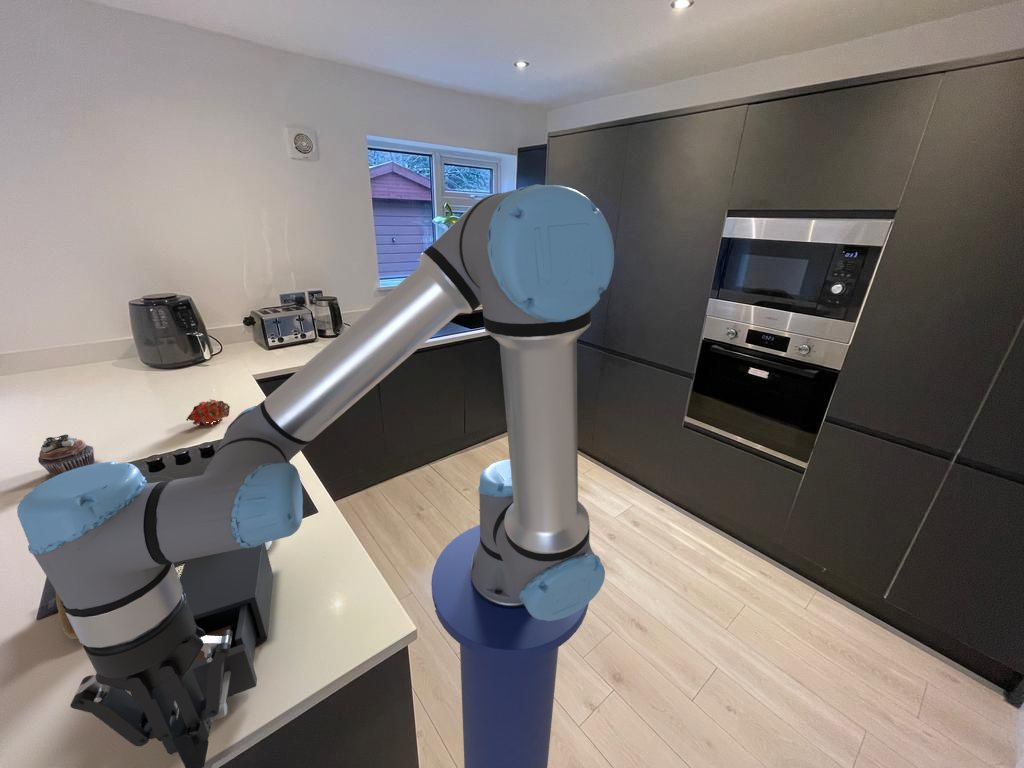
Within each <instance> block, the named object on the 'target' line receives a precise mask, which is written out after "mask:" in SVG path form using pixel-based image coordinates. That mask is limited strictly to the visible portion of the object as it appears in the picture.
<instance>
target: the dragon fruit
mask: <svg viewBox="0 0 1024 768" xmlns="http://www.w3.org/2000/svg"><path fill="white" fill-rule="evenodd" d="M230 408H231V406H230V405H229V404H228V403H227V402H224V401H223V400H215V399H212V398H211V399H210V398H209V401H208V400H207V401H201V402H199V403H198V404H197V405H194V406H193V409H192V410H191V412H190V414H189V415H187V418H186V419H185V421H186V422H188V421H191V422H192V425H194V426H198V425H197V424H202V425H204V426H207V425H208V424H210V423H212V422H213V421H217V422H213V423H214V424H210V425H211V426H214V425H215V424H217V423H220V422H222V421H223V418H227V417H229V415H230ZM218 420H219V421H218ZM206 422H210V423H206Z"/></svg>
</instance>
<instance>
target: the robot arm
mask: <svg viewBox="0 0 1024 768" xmlns="http://www.w3.org/2000/svg"><path fill="white" fill-rule="evenodd" d="M614 266H615V245H614V239H613V235H612V231H611V228H610V226H609V223H608V222H607V220H606V217H605V216H604V214H603V213H602V211H601V210H600V209H599V208H598V207H597V206H596V205H595V203H594V202H593V201H592V200H591V199H590V198H589V197H587V196H586V194H583V193H582V192H580V191H579V190H576V189H574V188H572V187H568V186H564V185H557V184H546V185H545V184H538V183H535V184H533V185H528V186H527V185H526V186H521V187H518V188H517V189H513V190H508V191H505V192H499V193H494V194H491V195H488V196H485V197H482V198H481V199H480V200H478V201H477V202H475V203H474V204H472V205H471V206H470V207H468V208H467V210H465V211H464V212H463V214H461V215H460V216H459V217H458V218H457V219H456V220H455V222H453V223H452V225H450V226H449V227H448V228H447V229H446V230H445V231H444V232H443V233H442V234H441V235H440V236H439V237H438V238H437V239H436V240H435V241H434V242H433V243H431V244H430V246H428V247H427V248H426V249H425V250H424V251H422V253H420V255H419V266H418V267H417V268H416V269H414V271H412V272H411V273H410V274H409V275H408V276H407V277H405V279H403V280H402V281H401V282H400V283H398V284H397V285H396V286H395V287H393V289H392V290H390V291H389V292H388V293H387V294H386V295H384V296H383V297H382V298H381V299H380V300H379V301H377V302H376V303H375V304H374V305H373V306H372V307H370V308H369V309H368V310H367V311H366V312H365V313H363V314H362V315H361V316H360V317H359V318H358V319H356V320H355V321H354V322H352V324H351V325H349V326H348V327H347V328H346V329H345V330H344V331H342V332H341V333H340V334H339V335H338V336H337V337H335V338H334V339H333V340H332V341H331V342H330V343H329V344H327V345H326V346H324V348H323V349H321V350H320V351H318V353H317V354H315V355H314V356H313V357H312V358H311V359H310V360H308V362H306V363H305V364H304V365H303V366H302V367H300V368H299V369H298V370H297V371H296V372H295V373H294V374H292V375H291V376H290V377H289V378H287V379H286V380H285V381H283V383H282V384H280V385H279V386H278V387H277V388H276V389H275V390H273V391H272V392H271V393H270V394H269V395H268V396H267V397H265V398H264V400H263V401H261V402H260V403H258V404H257V405H254V406H252V407H248V408H246V409H244V410H243V411H241V412H240V413H239V414H238V415H237V416H236V417H235V418H234V419H233V420H232V421H231V423H229V425H228V426H227V428H226V430H225V432H224V434H223V437H222V439H221V441H220V443H219V445H218V447H217V448H216V450H215V452H214V454H213V456H212V458H211V459H210V461H209V464H208V465H207V467H206V468H205V470H204V472H203V473H202V475H196V476H189V477H184V478H178V479H177V478H176V479H172V480H167V481H165V480H163V481H156V482H148V480H146V477H145V476H143V474H142V472H141V470H140V469H139V468H138V467H137V466H136V465H134V464H133V463H130V462H117V461H105V462H98V463H95V464H92V465H87V466H83V467H79V468H76V469H73V470H70V471H67V472H64V473H62V474H59V475H57V476H55V477H52V476H51V478H49V479H46V480H45V481H42V482H41V483H40V484H37V485H36V486H35V487H34V488H33V489H32V490H31V491H29V492H28V493H26V494H25V495H24V496H23V498H22V499H21V500H20V502H19V503H18V505H17V508H16V509H17V511H16V512H17V518H18V521H19V522H20V525H21V527H22V530H23V532H24V535H25V538H26V541H27V543H28V545H27V549H28V552H29V553H30V554H31V555H33V557H34V558H35V560H36V562H37V563H38V565H39V566H40V568H41V569H42V571H43V573H44V574H45V576H46V578H47V579H48V581H49V582H50V584H51V586H52V587H53V589H54V591H55V593H56V592H57V594H58V596H59V598H60V599H61V600H60V603H61V604H62V605H63V608H64V610H65V613H66V615H67V617H68V619H69V621H70V623H71V625H72V627H73V629H74V631H75V633H76V635H77V637H78V639H77V640H78V641H79V643H80V644H82V645H83V646H82V647H83V650H84V651H85V653H86V655H87V657H88V659H89V661H90V663H91V665H92V668H93V669H94V670H95V672H96V674H92V675H91V674H90V675H87V676H85V677H84V678H82V679H81V683H80V684H79V685H78V688H77V690H76V693H75V694H74V696H73V698H72V700H71V702H70V708H71V709H74V710H78V711H82V712H84V713H85V712H86V713H89V714H92V715H93V716H95V718H97V719H99V720H100V721H101V722H102V723H104V724H105V725H107V727H109V728H111V730H113V731H114V732H116V734H118V735H119V736H121V737H122V738H124V739H125V740H126V741H128V742H129V743H130V744H131V745H133V746H134V747H143V746H145V745H147V744H148V743H149V741H150V740H155V739H156V740H157V741H158V742H161V743H162V745H163V747H164V749H165V751H166V753H167V754H168V755H170V756H172V755H174V754H177V753H178V755H179V757H180V759H181V762H182V764H183V766H184V768H204V767H205V763H206V759H207V753H208V749H209V737H210V732H211V728H212V727H211V726H212V722H211V721H210V719H209V718H210V717H214V716H216V715H217V714H218V712H219V707H220V701H221V695H222V687H223V672H224V661H225V659H226V657H227V656H228V654H229V650H230V645H231V639H232V633H233V632H232V631H231V630H225V631H223V632H221V633H220V635H219V636H205V632H204V630H203V629H201V628H199V627H198V626H196V624H195V621H194V617H193V614H192V611H191V609H190V606H189V603H188V600H187V598H186V595H185V593H184V592H183V590H182V585H181V582H180V579H179V578H180V576H179V573H178V571H177V569H176V566H175V564H176V563H178V562H183V561H186V560H188V559H193V558H198V557H203V556H208V555H213V554H218V553H223V552H227V551H232V550H237V549H242V548H253V547H257V546H258V545H261V544H262V543H266V542H269V541H272V542H273V541H276V540H280V539H285V538H288V537H290V536H292V535H294V534H295V533H297V531H298V530H299V529H300V527H301V525H302V523H303V517H304V516H303V515H304V510H303V509H304V507H303V506H304V498H303V497H304V496H303V488H302V482H301V476H300V473H299V471H298V469H297V467H296V466H295V465H294V464H293V463H290V461H291V460H292V459H293V458H294V457H295V456H296V455H298V453H300V452H301V451H302V450H303V449H304V448H305V447H306V446H308V445H309V444H310V443H311V442H313V441H314V439H316V438H317V436H319V434H320V435H321V433H322V432H323V431H324V430H326V429H327V428H328V427H329V426H330V425H332V424H333V423H334V422H335V421H336V420H338V418H340V417H341V416H342V415H343V414H345V412H346V411H347V410H348V409H350V408H352V406H353V405H355V404H356V403H357V402H358V401H359V400H360V399H362V397H364V396H365V395H366V394H367V393H369V392H370V391H371V390H372V389H374V387H375V386H376V385H378V384H379V383H380V382H381V381H382V380H383V379H385V378H386V377H387V376H388V375H389V374H391V373H392V372H393V371H394V370H395V369H397V367H399V366H400V365H401V364H402V363H404V361H406V360H407V359H408V358H409V357H410V356H411V355H412V354H413V353H415V352H417V350H419V348H421V347H422V346H423V345H424V344H425V343H426V342H427V341H429V340H430V339H431V338H432V337H433V336H434V335H435V334H437V333H438V332H439V331H440V330H441V329H443V328H444V327H445V326H446V325H447V324H448V323H450V322H451V321H452V320H453V319H454V318H455V317H456V316H458V315H459V314H472V313H473V312H474V311H476V309H478V308H479V307H480V306H481V308H482V318H483V319H482V320H483V327H484V331H485V333H487V334H488V335H489V336H490V337H492V338H493V339H494V340H495V341H497V342H498V344H499V352H500V362H501V363H500V364H501V375H502V385H503V387H502V388H503V397H504V408H505V420H506V430H507V443H508V455H509V459H504V460H503V459H502V460H500V461H495V462H494V463H492V464H490V465H488V466H487V467H486V468H485V469H483V471H482V472H481V474H480V477H479V486H478V494H479V497H478V499H479V525H480V541H479V543H478V546H477V549H476V551H475V554H474V553H473V555H474V556H472V562H471V582H472V585H473V588H474V589H475V591H476V593H477V594H478V595H479V596H480V597H481V598H482V599H483V600H485V601H486V602H488V603H490V604H492V605H494V606H497V607H501V608H507V609H517V608H523V607H526V608H527V610H528V612H529V613H530V614H531V615H532V616H533V617H534V618H536V619H539V620H545V621H554V620H559V619H562V618H565V617H567V616H570V615H572V614H574V613H575V612H577V611H579V610H580V609H582V608H583V607H584V606H586V605H587V604H588V603H590V602H591V601H593V599H594V598H595V597H596V596H597V595H598V594H599V592H600V590H601V589H602V587H603V585H604V582H605V579H606V570H605V567H604V564H602V562H601V558H600V557H599V556H598V555H597V554H595V553H594V551H593V549H592V547H591V543H590V537H591V536H590V534H591V533H590V532H591V531H590V530H591V529H590V528H591V526H590V515H589V513H588V510H587V508H586V507H585V506H584V505H583V504H582V502H580V501H579V484H578V483H579V481H578V480H579V467H578V466H579V462H578V459H579V458H578V455H579V454H578V450H579V449H578V448H579V446H578V442H579V441H578V339H579V337H580V336H581V335H582V334H583V333H584V332H585V331H586V330H587V329H588V328H589V327H591V326H592V325H591V324H592V308H593V307H595V306H596V305H597V304H598V303H599V301H600V300H601V294H602V293H603V292H604V291H607V289H608V286H609V284H610V282H611V279H612V276H613V272H614ZM200 650H201V651H204V653H205V654H204V657H205V658H207V660H206V662H210V663H209V668H208V677H207V695H206V698H205V699H204V697H203V695H202V692H201V690H200V687H199V685H198V682H197V680H196V677H195V675H194V672H193V670H192V667H191V665H192V663H193V662H194V660H195V658H196V657H197V655H198V654H199V652H200ZM169 693H172V694H173V697H174V699H175V701H176V703H177V706H178V707H177V709H176V706H175V705H174V703H173V701H172V699H171V696H170V694H169ZM178 709H179V710H180V712H181V714H179V715H178V717H176V716H177V712H178Z"/></svg>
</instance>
